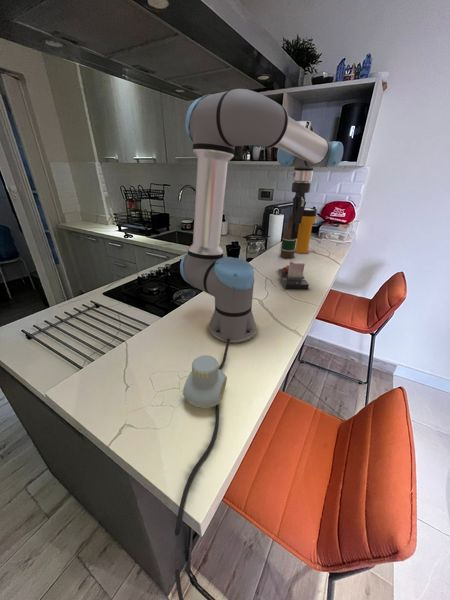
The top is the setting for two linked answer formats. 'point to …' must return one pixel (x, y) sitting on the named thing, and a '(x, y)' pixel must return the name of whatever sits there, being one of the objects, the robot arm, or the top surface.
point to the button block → (283, 271)
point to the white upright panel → (295, 270)
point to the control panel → (294, 283)
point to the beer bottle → (288, 242)
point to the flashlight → (305, 230)
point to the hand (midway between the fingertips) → (293, 238)
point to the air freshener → (205, 383)
